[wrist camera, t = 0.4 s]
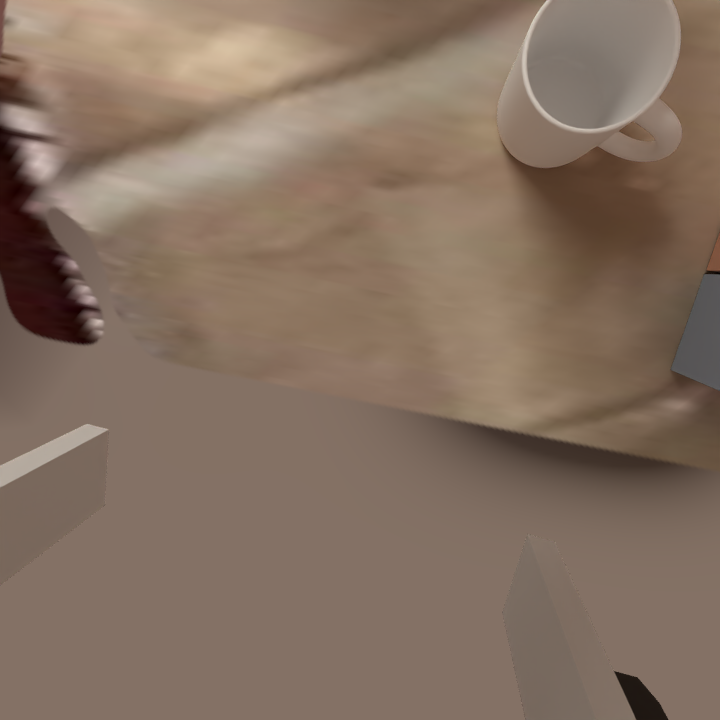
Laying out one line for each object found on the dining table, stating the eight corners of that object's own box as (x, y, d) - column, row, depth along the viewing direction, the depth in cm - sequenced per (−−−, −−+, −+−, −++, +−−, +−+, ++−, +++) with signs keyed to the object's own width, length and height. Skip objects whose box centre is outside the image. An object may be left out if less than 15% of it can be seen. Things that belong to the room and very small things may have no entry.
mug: (670, 123, 34) (775, 62, 24) (595, 218, 36) (661, 200, 26) (540, 31, 34) (590, -68, 24) (473, 132, 36) (491, 80, 26)
